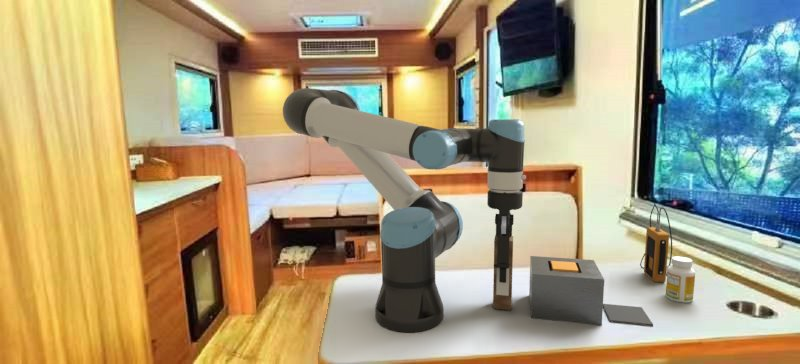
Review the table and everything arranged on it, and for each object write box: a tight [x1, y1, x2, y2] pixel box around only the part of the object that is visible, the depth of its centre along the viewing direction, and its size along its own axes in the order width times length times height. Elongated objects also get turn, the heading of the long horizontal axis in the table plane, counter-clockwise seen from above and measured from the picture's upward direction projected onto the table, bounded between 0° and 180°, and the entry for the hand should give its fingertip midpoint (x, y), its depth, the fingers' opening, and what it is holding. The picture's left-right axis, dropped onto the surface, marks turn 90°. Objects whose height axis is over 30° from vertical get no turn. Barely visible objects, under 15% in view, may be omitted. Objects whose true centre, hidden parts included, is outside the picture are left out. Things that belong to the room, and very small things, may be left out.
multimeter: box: [639, 203, 673, 283], centre depth 107 cm, size 15×10×20 cm
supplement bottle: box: [665, 255, 696, 304], centre depth 96 cm, size 5×5×10 cm
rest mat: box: [603, 303, 654, 327], centre depth 89 cm, size 8×8×1 cm
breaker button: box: [551, 261, 579, 273], centre depth 92 cm, size 5×5×6 cm
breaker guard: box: [528, 255, 605, 326], centre depth 92 cm, size 14×12×10 cm
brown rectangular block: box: [492, 234, 514, 311], centre depth 93 cm, size 4×4×16 cm
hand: (502, 290), depth 94 cm, fingers closed on brown rectangular block, 4 cm apart
